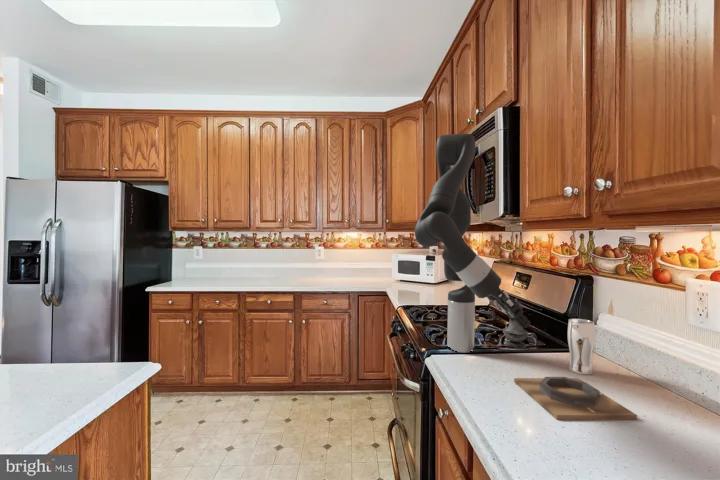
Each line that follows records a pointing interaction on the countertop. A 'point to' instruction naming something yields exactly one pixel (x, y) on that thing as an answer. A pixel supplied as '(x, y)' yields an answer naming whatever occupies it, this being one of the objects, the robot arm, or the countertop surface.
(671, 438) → the countertop surface
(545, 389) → the socket plate
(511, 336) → the grey turned stone piece
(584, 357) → the beer glass
